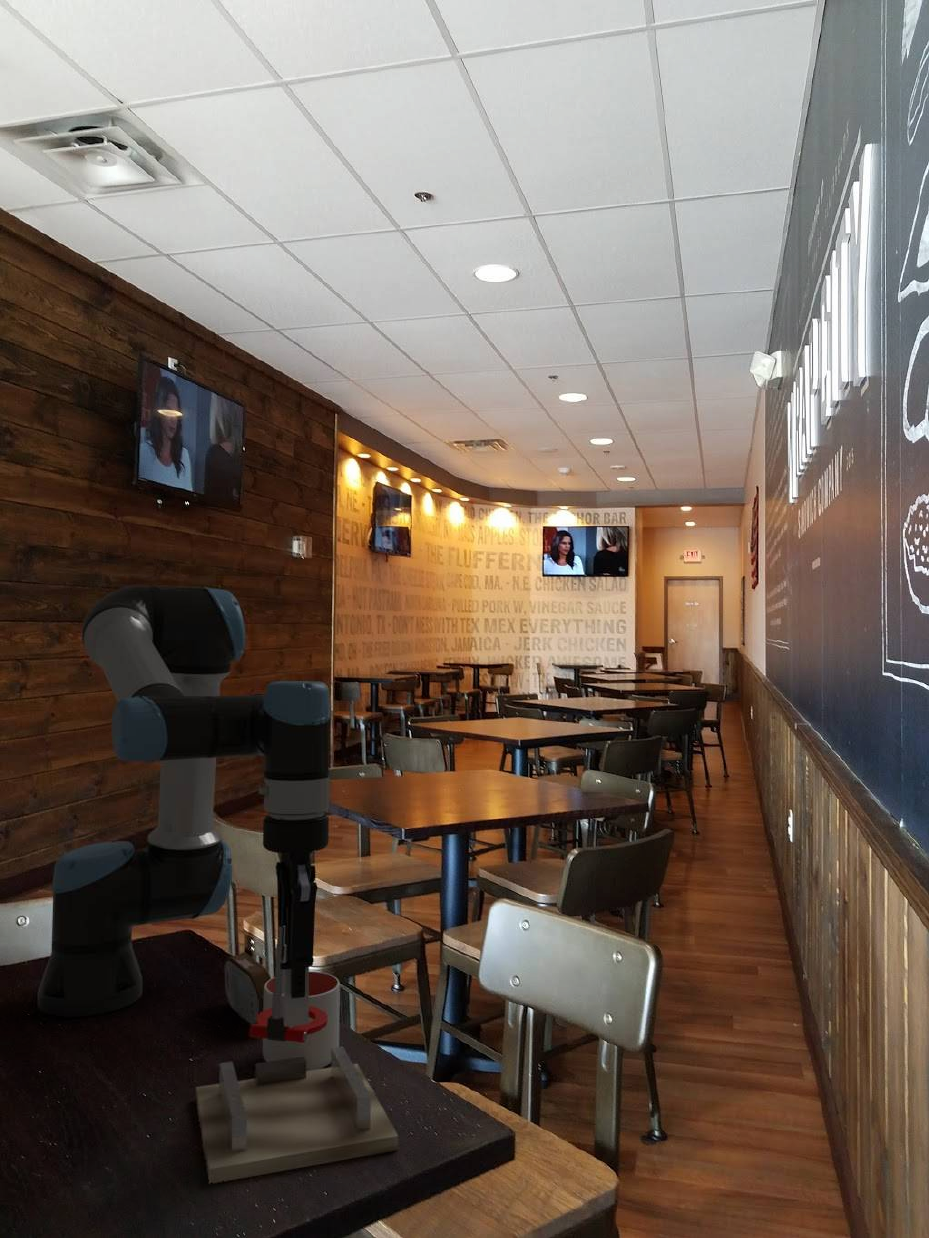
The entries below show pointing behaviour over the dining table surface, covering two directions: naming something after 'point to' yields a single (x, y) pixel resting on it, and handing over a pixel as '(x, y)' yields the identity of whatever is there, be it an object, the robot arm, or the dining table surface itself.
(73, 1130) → the dining table surface
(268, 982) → the cup
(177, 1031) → the dining table surface
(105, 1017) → the dining table surface
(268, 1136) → the keeper board
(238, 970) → the tin
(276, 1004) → the tow hook
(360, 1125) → the keeper rails
